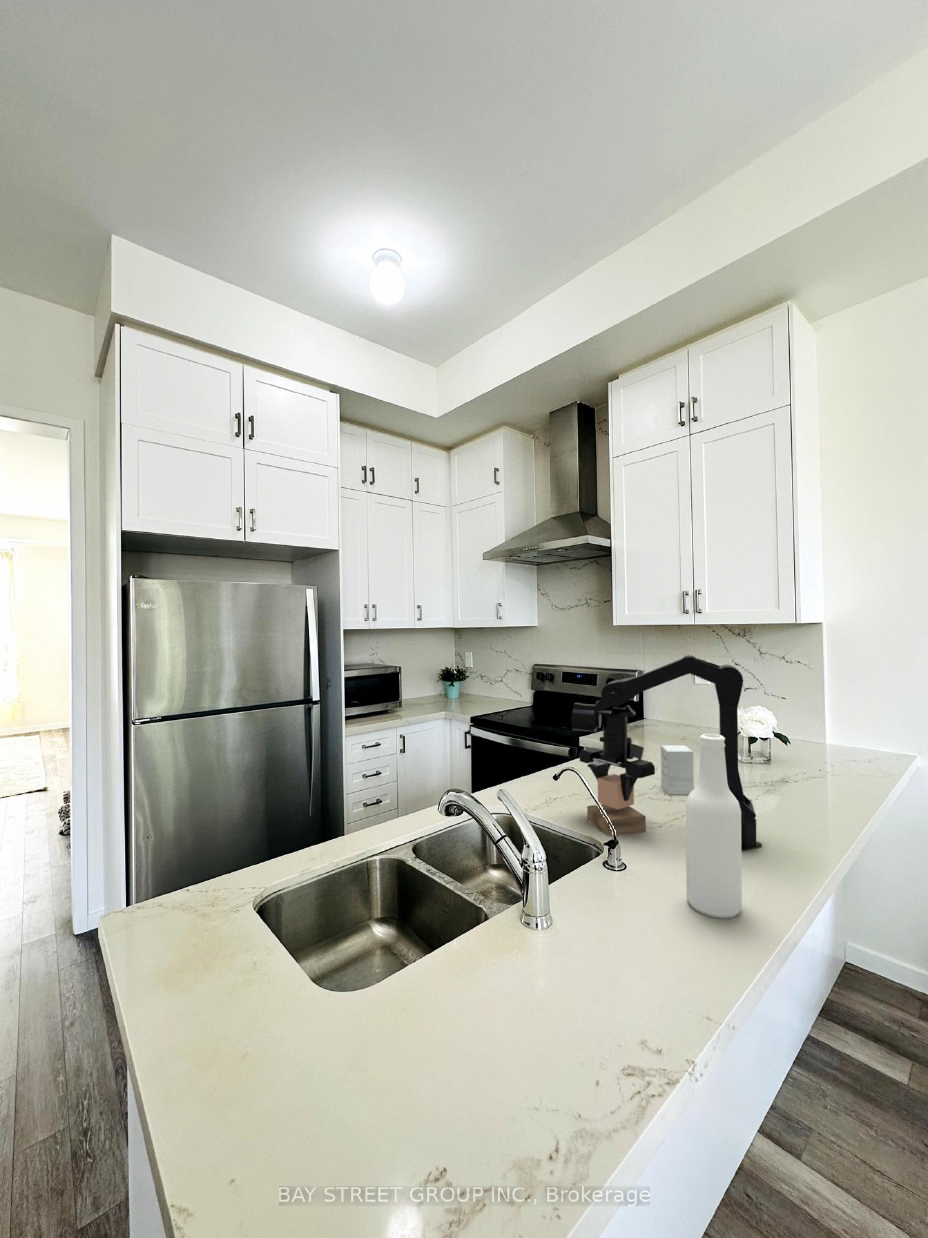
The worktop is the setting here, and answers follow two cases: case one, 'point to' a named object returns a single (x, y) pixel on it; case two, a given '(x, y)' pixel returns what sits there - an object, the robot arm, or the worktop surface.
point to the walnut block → (617, 820)
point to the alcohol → (713, 837)
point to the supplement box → (677, 769)
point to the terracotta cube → (613, 792)
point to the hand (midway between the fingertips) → (615, 797)
